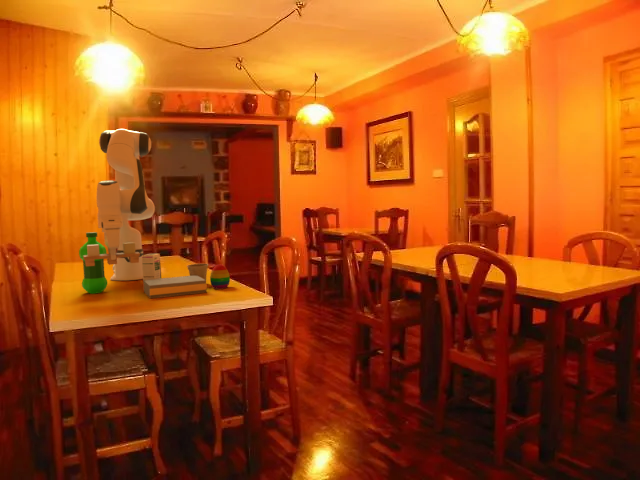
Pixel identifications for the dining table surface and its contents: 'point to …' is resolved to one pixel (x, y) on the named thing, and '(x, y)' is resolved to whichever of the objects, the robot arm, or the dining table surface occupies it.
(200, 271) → the flower pot
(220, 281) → the decorative egg
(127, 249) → the crate
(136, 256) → the pallet
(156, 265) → the syrup box
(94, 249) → the block
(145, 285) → the dock
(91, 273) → the plastic bottle
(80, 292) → the dining table surface
